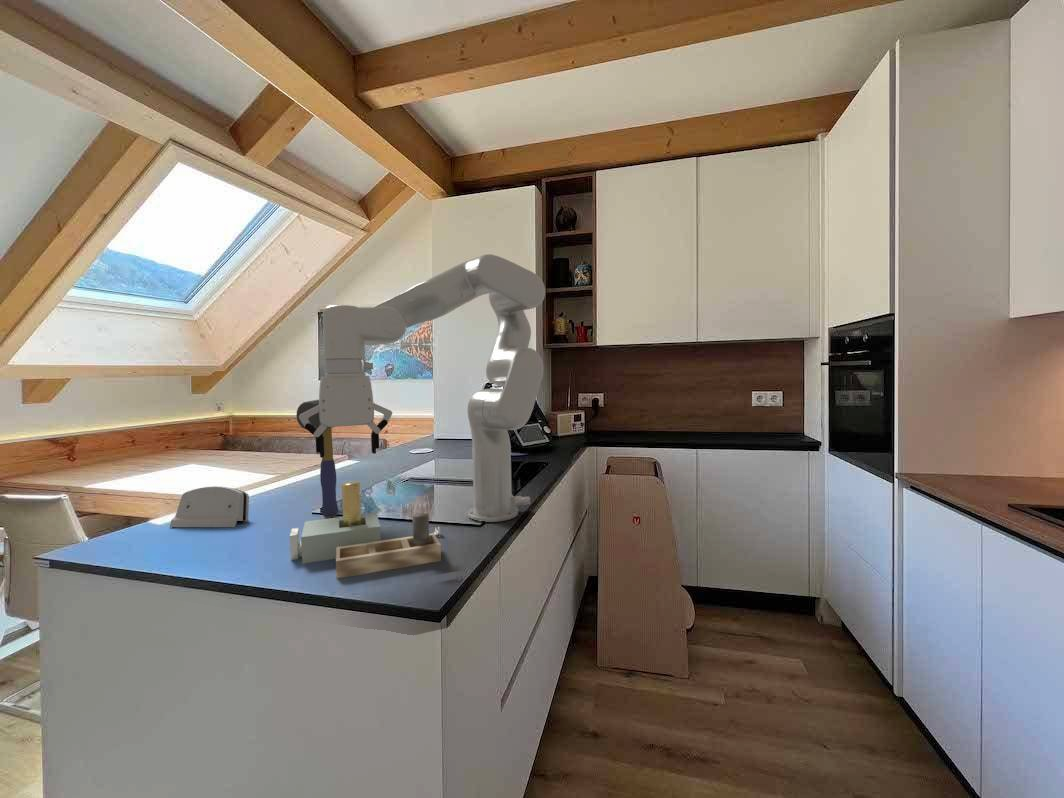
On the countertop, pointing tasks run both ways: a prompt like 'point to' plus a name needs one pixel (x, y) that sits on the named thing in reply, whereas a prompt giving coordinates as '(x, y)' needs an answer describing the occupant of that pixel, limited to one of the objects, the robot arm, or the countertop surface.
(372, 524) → the socket block
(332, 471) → the rubber mallet
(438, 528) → the adhesive hook
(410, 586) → the countertop surface
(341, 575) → the rack
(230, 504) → the grey rounded block
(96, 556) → the countertop surface
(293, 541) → the t-shaped push slider
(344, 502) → the gold cylindrical peg
